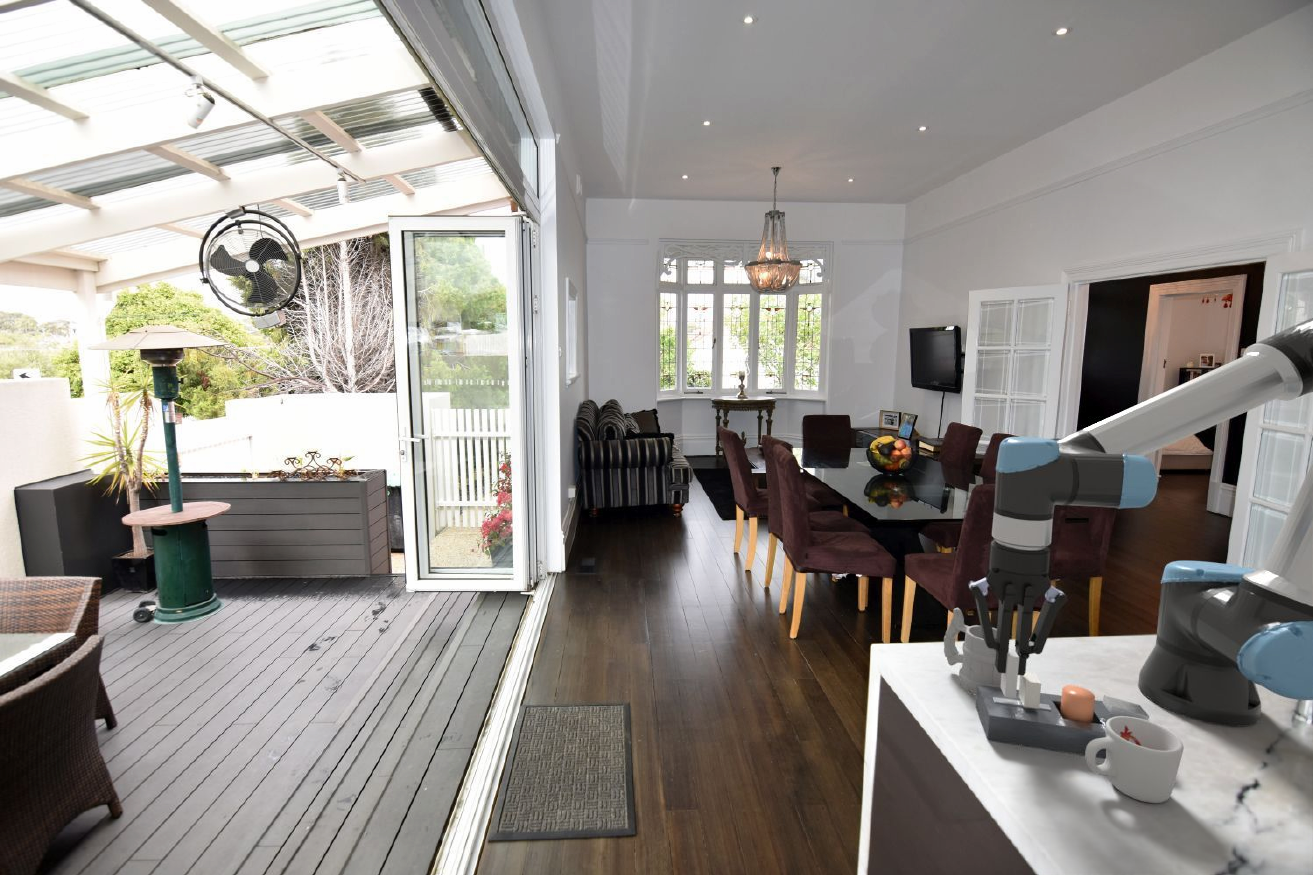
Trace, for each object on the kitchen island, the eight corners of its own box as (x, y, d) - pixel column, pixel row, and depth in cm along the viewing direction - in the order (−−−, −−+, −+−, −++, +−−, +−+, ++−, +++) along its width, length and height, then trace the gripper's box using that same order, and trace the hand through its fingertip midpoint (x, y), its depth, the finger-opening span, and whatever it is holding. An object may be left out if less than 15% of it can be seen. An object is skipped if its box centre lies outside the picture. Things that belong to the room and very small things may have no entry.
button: (1086, 717, 93) (1089, 687, 93) (1096, 732, 89) (1099, 701, 89) (1056, 713, 94) (1058, 683, 94) (1064, 728, 91) (1067, 697, 90)
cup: (1104, 810, 78) (1110, 751, 77) (1065, 768, 85) (1070, 714, 84) (1194, 812, 77) (1200, 753, 76) (1146, 770, 85) (1152, 715, 84)
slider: (1033, 697, 95) (1035, 673, 94) (1039, 708, 92) (1041, 683, 91) (1018, 696, 95) (1020, 671, 95) (1023, 706, 92) (1025, 681, 92)
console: (1128, 729, 94) (1131, 700, 93) (1156, 766, 86) (1160, 735, 85) (975, 707, 100) (977, 680, 100) (987, 740, 92) (989, 710, 91)
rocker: (1137, 711, 91) (1139, 705, 91) (1147, 723, 88) (1149, 716, 88) (1102, 701, 92) (1104, 695, 92) (1110, 713, 89) (1112, 706, 89)
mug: (989, 704, 101) (994, 634, 99) (928, 671, 112) (932, 608, 110) (1019, 693, 104) (1024, 625, 103) (957, 662, 115) (961, 600, 113)
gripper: (1062, 539, 93) (1049, 686, 96) (966, 531, 96) (956, 674, 100) (1080, 554, 86) (1065, 713, 89) (976, 545, 89) (965, 698, 92)
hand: (1008, 692), depth 94 cm, fingers closed
